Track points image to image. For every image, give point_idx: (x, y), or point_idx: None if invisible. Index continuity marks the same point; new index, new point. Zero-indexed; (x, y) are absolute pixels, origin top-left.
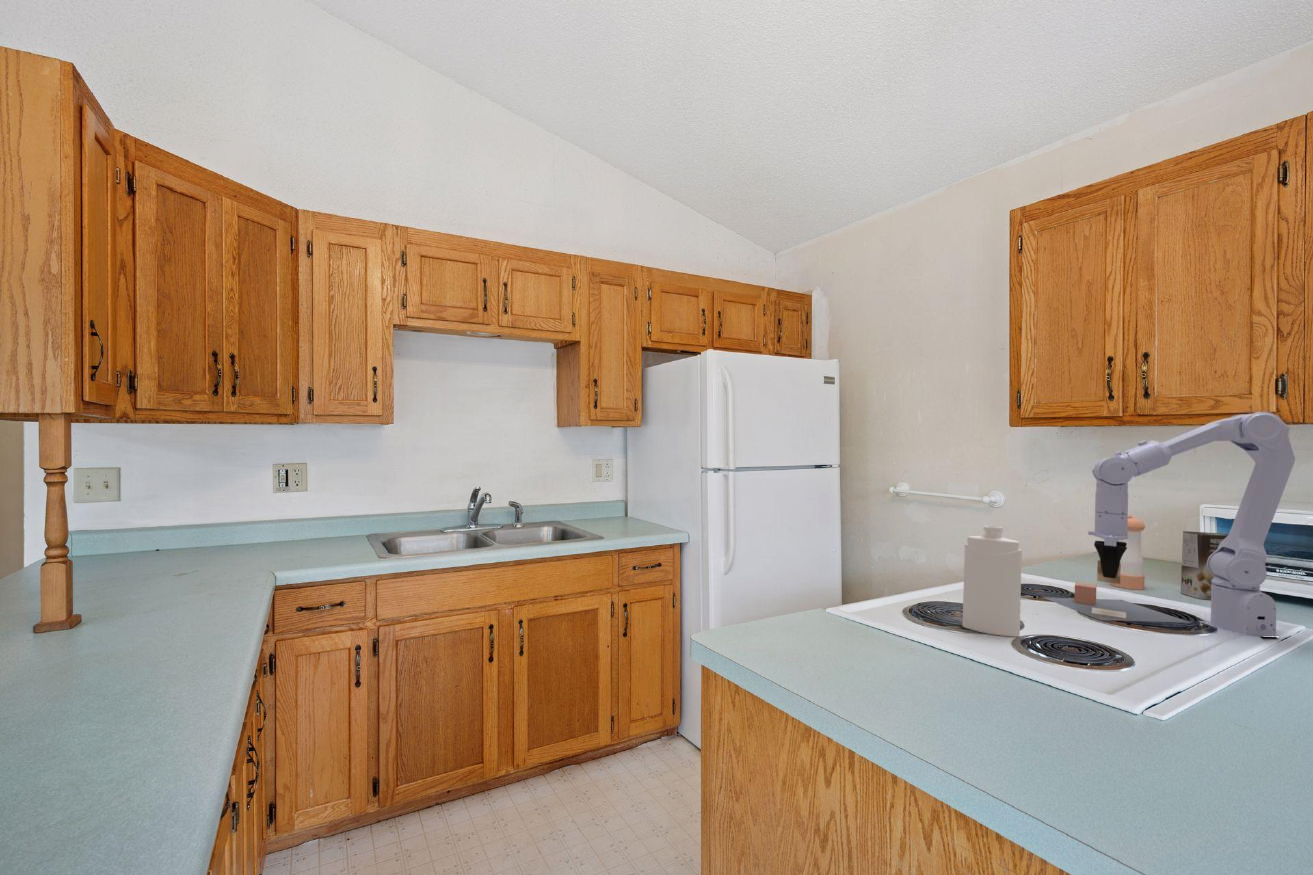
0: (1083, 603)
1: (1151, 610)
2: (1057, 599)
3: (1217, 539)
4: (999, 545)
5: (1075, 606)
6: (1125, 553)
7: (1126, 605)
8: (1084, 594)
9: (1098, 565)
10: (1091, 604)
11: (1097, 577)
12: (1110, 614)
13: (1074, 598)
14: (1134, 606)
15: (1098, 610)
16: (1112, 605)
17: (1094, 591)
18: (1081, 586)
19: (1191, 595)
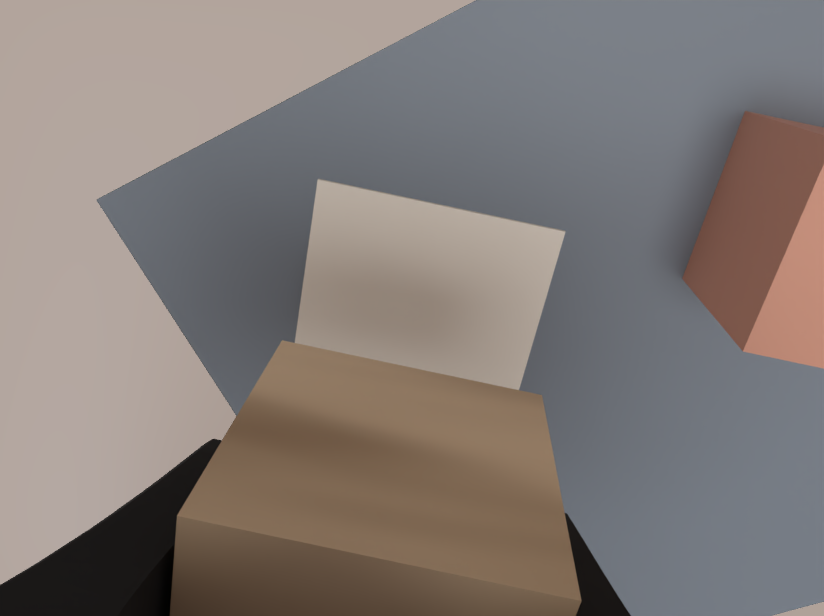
0: (716, 188)
1: (696, 614)
2: None
3: None
4: None
5: (545, 88)
6: None
7: (814, 510)
8: (751, 218)
9: (194, 489)
10: (693, 250)
11: (269, 367)
12: (344, 314)
13: (763, 116)
14: (799, 551)
15: (454, 256)
16: (761, 412)
17: (733, 320)
18: (797, 210)
19: None
